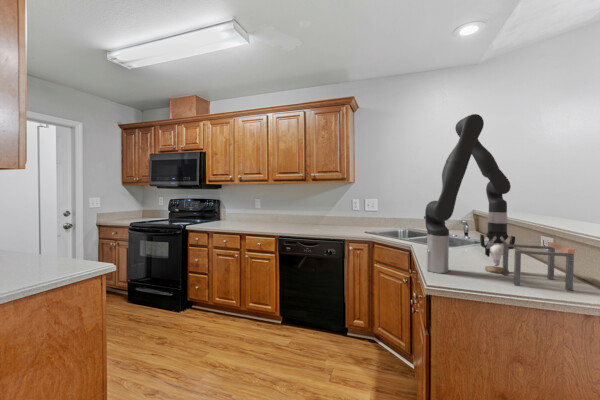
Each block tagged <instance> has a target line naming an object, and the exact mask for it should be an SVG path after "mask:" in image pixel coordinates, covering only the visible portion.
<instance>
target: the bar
mask: <svg viewBox="0 0 600 400" xmlns="http://www.w3.org/2000/svg"><path fill="white" fill-rule="evenodd" d="M547 246H550V247H552V248H555V250H557V251H560V252H562V253H569V254H574V255H575V252H576V251H575V249H574V248H571V247H568V246H565V245H562V244H559V243H557V242H552V241H548V242H547Z"/></svg>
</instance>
